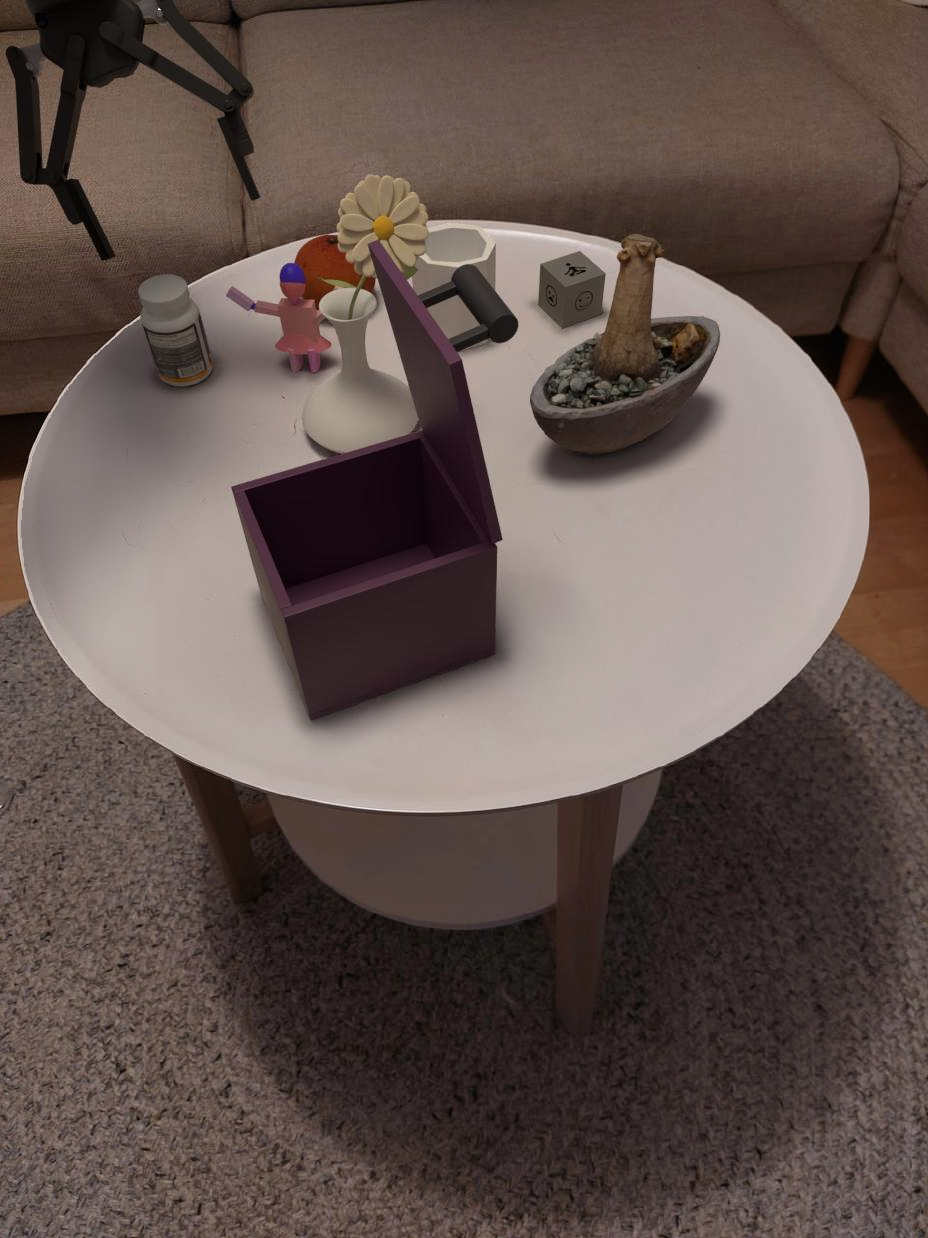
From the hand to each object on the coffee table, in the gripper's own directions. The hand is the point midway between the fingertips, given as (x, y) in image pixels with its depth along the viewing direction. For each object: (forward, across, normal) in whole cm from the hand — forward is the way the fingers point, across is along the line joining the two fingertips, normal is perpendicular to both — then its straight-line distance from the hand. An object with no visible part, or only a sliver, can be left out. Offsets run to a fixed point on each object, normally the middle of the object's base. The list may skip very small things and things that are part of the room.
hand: (182, 229), depth 84 cm
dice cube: (+21, -33, -17) cm, 43 cm away
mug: (+18, -21, -18) cm, 33 cm away
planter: (+31, -30, +1) cm, 43 cm away
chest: (+33, -3, +18) cm, 38 cm away
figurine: (+16, -4, -14) cm, 21 cm away
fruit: (+12, -10, -22) cm, 27 cm away
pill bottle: (+12, +7, -14) cm, 20 cm away
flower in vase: (+22, -8, -4) cm, 24 cm away
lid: (+16, -13, +27) cm, 34 cm away
